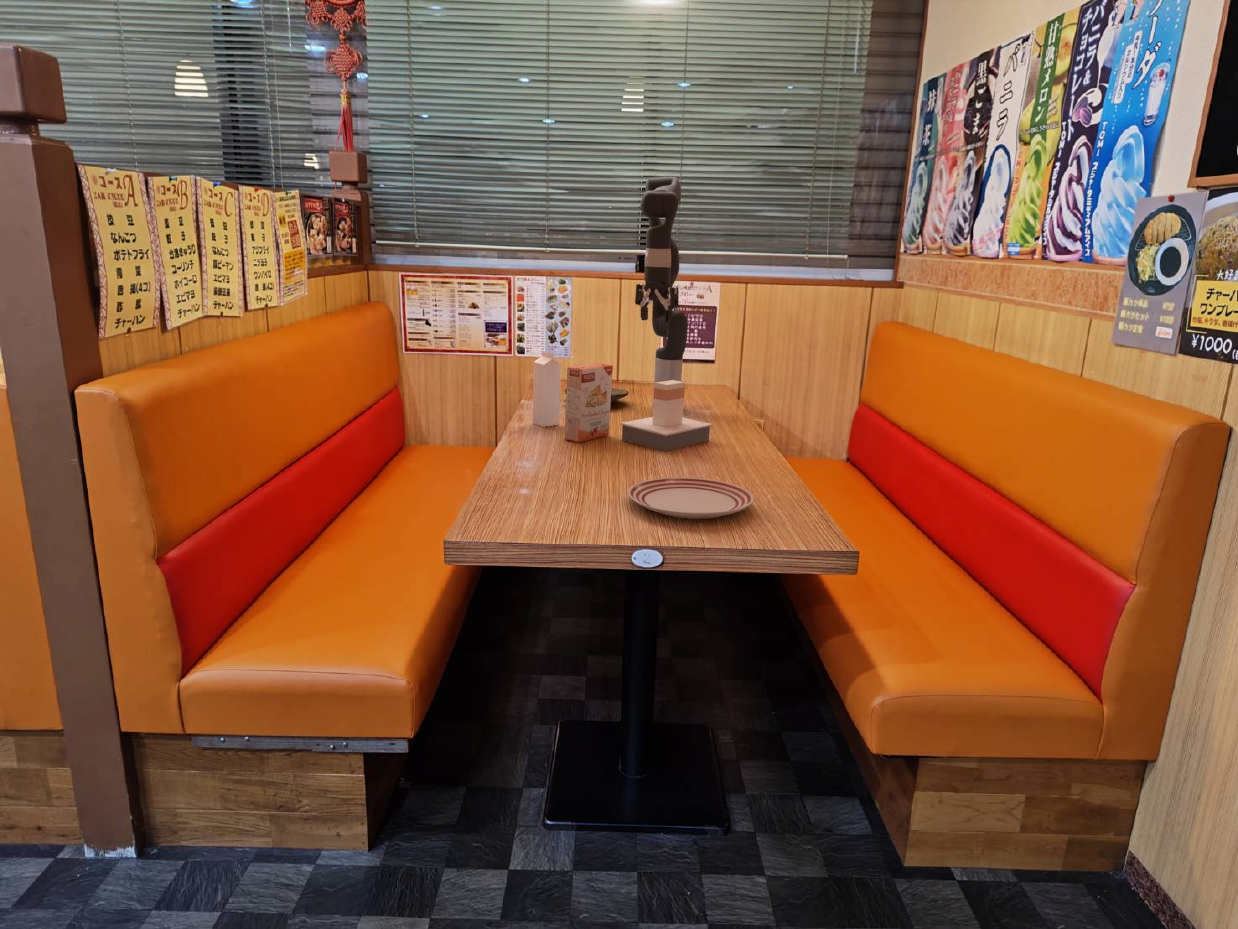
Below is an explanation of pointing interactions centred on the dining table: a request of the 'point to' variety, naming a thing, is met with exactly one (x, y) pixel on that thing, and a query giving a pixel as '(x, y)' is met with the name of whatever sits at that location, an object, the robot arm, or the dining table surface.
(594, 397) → the cracker box
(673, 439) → the plate
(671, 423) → the cream carton
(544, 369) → the milk
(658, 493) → the dinner plate
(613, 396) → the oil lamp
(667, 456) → the dining table surface
